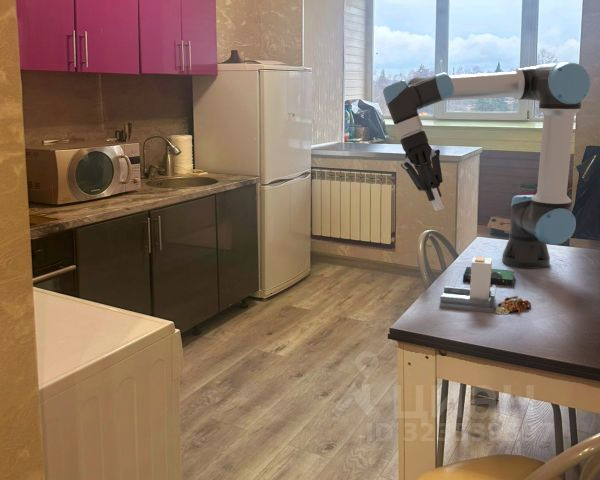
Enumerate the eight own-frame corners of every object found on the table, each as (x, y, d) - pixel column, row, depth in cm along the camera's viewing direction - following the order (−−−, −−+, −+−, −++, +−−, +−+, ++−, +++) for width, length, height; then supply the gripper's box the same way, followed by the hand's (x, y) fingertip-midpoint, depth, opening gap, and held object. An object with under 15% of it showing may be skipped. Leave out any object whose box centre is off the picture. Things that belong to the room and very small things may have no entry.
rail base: (495, 298, 184) (496, 284, 183) (493, 312, 173) (494, 297, 172) (444, 293, 188) (445, 280, 187) (439, 307, 177) (440, 292, 176)
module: (489, 296, 181) (492, 256, 178) (488, 303, 176) (491, 262, 173) (471, 294, 183) (473, 255, 180) (469, 301, 177) (471, 260, 174)
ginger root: (487, 313, 174) (488, 300, 173) (511, 302, 182) (512, 290, 181) (510, 319, 169) (511, 306, 168) (534, 308, 177) (535, 296, 176)
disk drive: (462, 284, 199) (513, 288, 195) (462, 275, 199) (514, 279, 194) (465, 274, 209) (514, 278, 204) (466, 266, 208) (515, 269, 203)
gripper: (422, 130, 196) (449, 203, 198) (387, 143, 192) (415, 218, 194) (436, 124, 189) (464, 200, 191) (399, 138, 185) (428, 216, 187)
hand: (439, 209), depth 192 cm, fingers closed
